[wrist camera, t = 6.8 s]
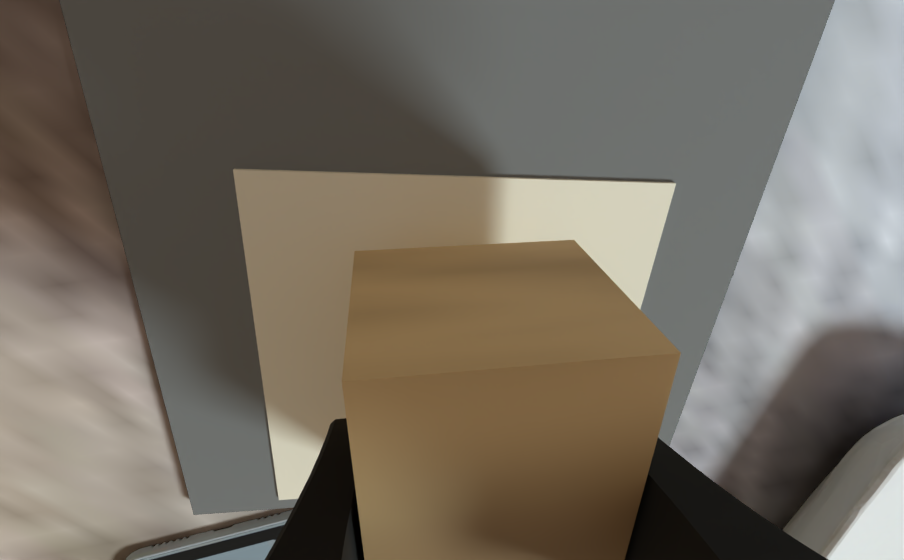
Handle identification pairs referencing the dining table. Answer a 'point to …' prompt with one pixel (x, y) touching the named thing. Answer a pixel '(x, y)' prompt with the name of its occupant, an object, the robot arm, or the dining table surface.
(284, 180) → the mat
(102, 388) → the dining table surface
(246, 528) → the smartphone
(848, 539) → the salad plate
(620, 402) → the pine block
